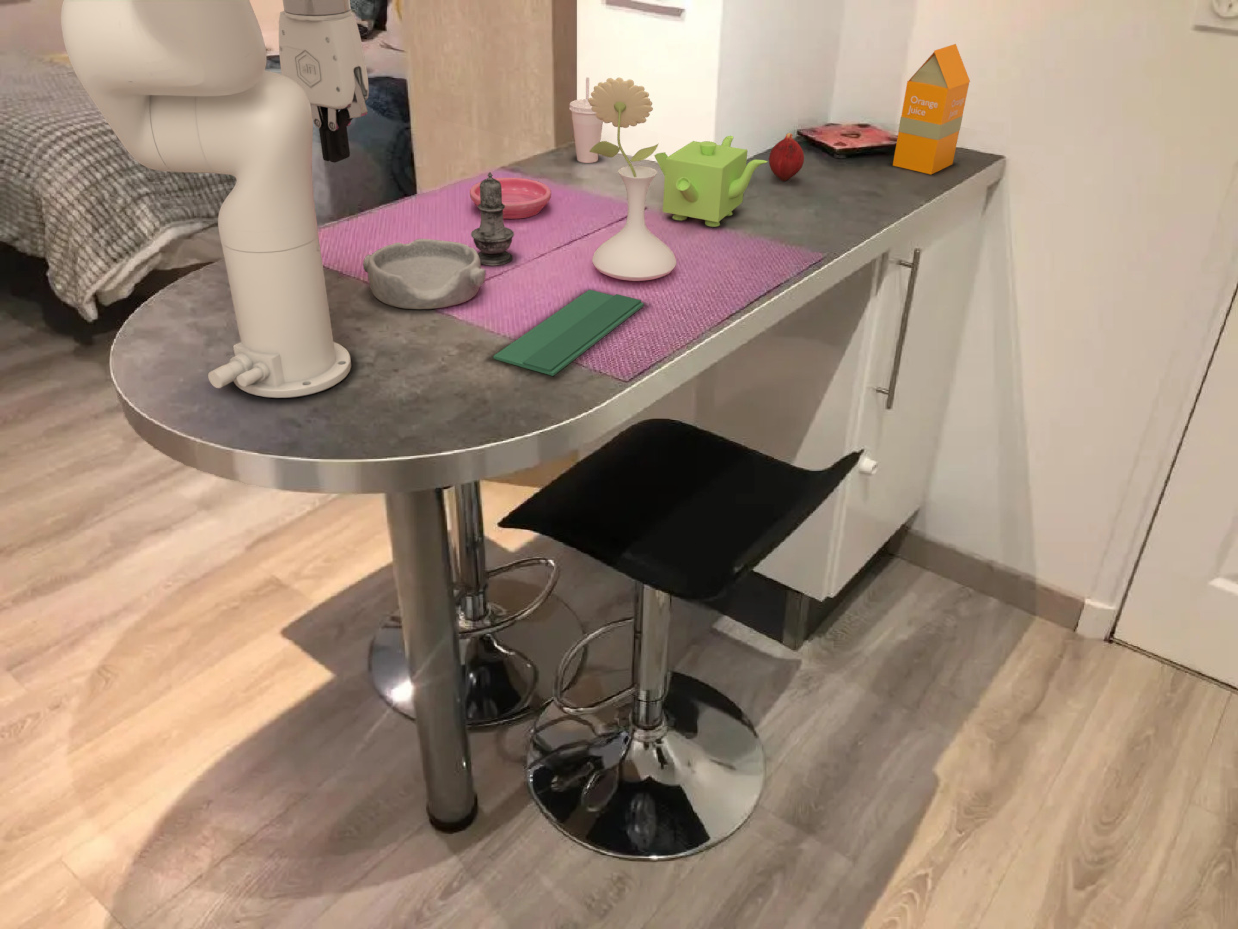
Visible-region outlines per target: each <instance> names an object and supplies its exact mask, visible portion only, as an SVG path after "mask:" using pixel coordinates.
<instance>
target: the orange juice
mask: <svg viewBox="0 0 1238 929" xmlns="http://www.w3.org/2000/svg"><path fill="white" fill-rule="evenodd" d="M970 82H971V80H970V77H969V74H968V72H967V70H966V67H965V64H964V62H963V59H962V56H961V54H960V51H959V48H958V45H957V44H956V43H953V44H951V45H947V46H945V47H941V48H938V49H935V50H933V52H932V53H931V55H930V56H929V57H928V58H927V59H926V60H925V61H924V63H922V65H921V66H920V67H919V68H918V69H917V70H916V72H915V73H914V74H913V75H912V76H911V77H910V78H909V80H907V82H906V87H905V92H904V98H903V102H902V103H903V104H902V110H901V115H900V119H899V125H898V132H897V139H896V143H895V144H896V145H895V150H894V155H893V161H892V166H893V167H897V168H901V169H906V170H910V171H915V172H918V173H923V174H927V175H933V174H935V173H937V172H940V171H941V170H943V169H945V168H948V167H949V166H952V165H953V164H954V160H955V153H956V149H957V145H958V140H959V134H960V131H961V126H962V121H963V116H964V110H965V105H966V101H967V95H968V91H969V87H970V86H969V85H970Z"/></svg>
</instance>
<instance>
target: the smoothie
mask: <svg viewBox="0 0 1238 929" xmlns="http://www.w3.org/2000/svg"><path fill="white" fill-rule="evenodd" d="M589 98H590V77H585V98H583V99H582V98H581V99H575V100H571V101H570V102H569V111H570V112H571V120H572V128H573V136H574V145H575V153H576V160H577V161H578V162H580V163H585V164H591V163H596V162H598V161H599V155H600V154H597V153H592V152H589V151H590V150H591V149H592V147H593V146H594V145H596V144H597V143H599V142H601V139H602V132H603V124H604V122H603V120H600V119H599V118H597V117H596V112H593V111H592V109H591V108H592V106H591V105H590V104H589V102H588V99H589Z"/></svg>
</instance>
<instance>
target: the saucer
mask: <svg viewBox="0 0 1238 929" xmlns="http://www.w3.org/2000/svg"><path fill="white" fill-rule="evenodd" d="M494 179H496V180H498V181H499V182H500V183H501V189H502V204H504V205H505V208H504V209H503V220H518V219H519V220H521V219H526V218H530V217H534V216H536V215H537V214H539V213H540V212H541V211H542V210H543V208H545V207H546V205H548V203H549V201H551V199H552V190H551V188H550V187H549V186H548V185H547V184H545V183H544V182H541V181H539V180H534V179H530V178H522V177H494ZM482 181H483V180H482ZM482 181H479V182H477V183H475V184H473V185H472V186H471V188H470V189H469V197H470V199H471V201H472V202H473V203H474V205H475V206H476V207H478V205H479V204H481V201H480V183H481V182H482Z"/></svg>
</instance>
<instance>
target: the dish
mask: <svg viewBox="0 0 1238 929" xmlns="http://www.w3.org/2000/svg"><path fill="white" fill-rule="evenodd" d="M478 253H479V252H477V250H476V249H475V248H473V247H470V246H469V245H467V244H465V243H462V242H458V241H450V240H441V239H431V238H416V239H415V240H413V241H411V242H409V243H401V242H399V241H398V242H394V243H392V244H388V245H385V246H383V247H381V248H379V249H376V250H375V251H374V252H372V253H371V254H367V255H366V256H365V257H364V259H363V262H362V267H363V270H364V272H366V273H367V279H368V285H369V287H370V291H371V293H372V295H373V296H374V297H375V298H376V299H377V300H378V301H380V302H381V303H383V304H386V305H388V306H391V307H395V308H401V309H406V310H407V309H409V310H433V309H442V308H447V307H452V306H457V305H460V304H463V303H466V302H468V301H470V300H471V299H473V298H474V297H475V296H476V295H477V294H478V292H479V290H480V287H482V286H483V285H484V282H485V280H486V269H485V268H482V264H481V263H480V258H479V255H478Z"/></svg>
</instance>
